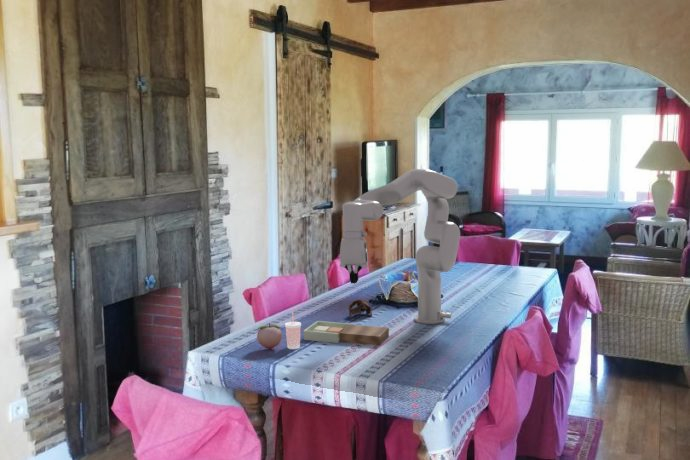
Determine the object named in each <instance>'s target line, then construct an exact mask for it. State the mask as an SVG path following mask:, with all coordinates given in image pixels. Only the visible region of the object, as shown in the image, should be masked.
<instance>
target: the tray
mask: <svg viewBox="0 0 690 460" xmlns="http://www.w3.org/2000/svg"><path fill="white" fill-rule="evenodd" d="M348 325H352V323H349V322H338V321H337V322H334V321H325V320H316V321H314V322H313V323H312V324H311V325H309V326H307V328H305V329H303V330H302V331H303V340H304V341H313V342H315V341H316V342H325V343H327V342H328V343H335V344H339V343H340V342H339V334H338V333H329V332H318V331H314V329H315V328H316V327H317V326H328V327H330V328H331V327H338V328H344V329H345V328H346V327H347V326H348Z"/></svg>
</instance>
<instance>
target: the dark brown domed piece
mask: <svg viewBox="0 0 690 460" xmlns="http://www.w3.org/2000/svg"><path fill="white" fill-rule="evenodd" d="M354 306H356V307H354ZM353 307H354V308H353ZM348 310H349V311H348V314H349V316H350V317H352V315H356V314H362V313H363V312H365V314H366V315H370V317H371V318H372V317H373V312H372V308H371V307H370V305H369V304H368V302H367V301H364V300H363V299H361V298H359V299H355V300H353V301H352V302H351V303H350V304H349V305H348Z"/></svg>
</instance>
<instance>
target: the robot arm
mask: <svg viewBox="0 0 690 460" xmlns="http://www.w3.org/2000/svg"><path fill="white" fill-rule="evenodd" d="M419 191H420V192H422V193H421V194H423V196H424V197H425V199H426V202H427V204H428V205H427V206H428V211H427V217H426V221H425V226H424V232H423V234H424V235H423V236H424V239H425V240H426V241H427V242H429V243H433V244H438V245H439V246H434V245H422V246H421V247H419V248H418V249H417V250H416V252H415V253H416V254H415V263H416V268H417V310H418V311H417V315H416V316H414V319H413V320H414V321H415V322H416V323H419V324H424V325H436V324H437V325H438V324H441V323H444V322H445V321H446V319H452V313H450V312H444V308H442V278H441V277H442V276H441V273H440V272H443V273H446V272H450V271H451V270H452V269H453V268H454V267H455V264H456V260H457V256H458V251H459V246H460V240H461V230H460V227H459V226H458V225H457V224H456V223H454V222H453V221H448V220H449V213H450V205H449V203H448V199H452V198H454V197H455V196H456V194H458V184H457V182H456V180H454V179H453V178H452V177H451V176H450V177H449V176H447V175H444V174H443V173H440V172H437V171H434V170H432V169H428V168H427V169H424V168H421V169H420V168H413V169H410V170H407V171H406V172H405V173H403V174H402V175H400V176H398V177H397V178H395V179H394V180H392V181H391V182H389V183H388V184H385V185H382V186H379V187H377V188H374V189H371V190H369V191H367V192H364V193H363V194H361V195H360V196H359V197H357V198H355V200H353V201H348V202H345V203H343V205H342V229H343V230H342V236H343V237H342V238H341V241H340V247H339V263H340V264H339V267H341V268H344V269H345V270H346V271H348V273H349V281H350V284H353V285H354V284H357V283H358V281H359V272H360V271H362V269H367V268H368V263H369V256H368V255H369V252H368V245H367V240H366V238H364V237H367V236H368V233H367V232H365V231H364V221H369V222H370V221H371V222H374V221H377V220H380V219H381V217H382V216H383V214H384V207H383V206H389V205H394V204H399V203H401V202H403V201H404V200H405V199H407V198H409V197H410V196H411V195H413V194H414V193H416V192H419Z"/></svg>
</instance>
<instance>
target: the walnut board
mask: <svg viewBox="0 0 690 460" xmlns="http://www.w3.org/2000/svg"><path fill="white" fill-rule="evenodd" d="M389 330H390V328H389V327H383V326H374V325H373V326H372V325H359V324H358V325H357V324H351V325H348V326H347V327H346V328H345V329H344V330H342V331H341V332H340V333H339V342H338V343H349V344H357V345H367V346H368V345H369V346H378V347H381V346H382V344H383V343H384V342H386V340H387V339H388V338H389V336H390V331H389Z"/></svg>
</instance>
